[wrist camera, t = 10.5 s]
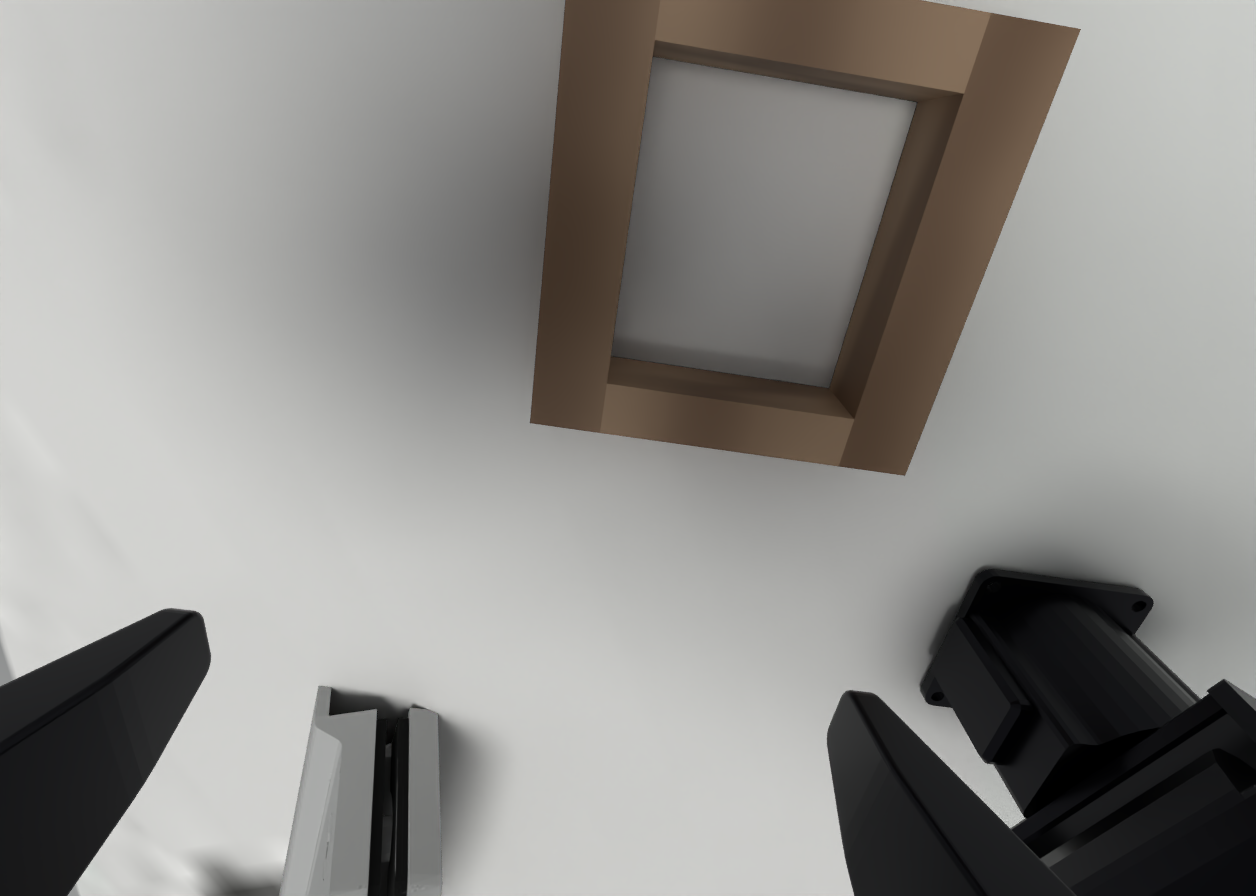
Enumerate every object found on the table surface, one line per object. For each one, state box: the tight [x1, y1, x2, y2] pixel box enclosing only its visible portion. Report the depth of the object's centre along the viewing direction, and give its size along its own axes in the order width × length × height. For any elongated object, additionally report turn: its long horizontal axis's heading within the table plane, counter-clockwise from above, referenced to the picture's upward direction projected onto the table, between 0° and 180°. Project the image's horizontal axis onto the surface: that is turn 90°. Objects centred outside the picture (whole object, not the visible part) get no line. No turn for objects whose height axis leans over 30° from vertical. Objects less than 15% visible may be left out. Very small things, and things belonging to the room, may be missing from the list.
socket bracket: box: [530, 0, 1081, 476], centre depth 16 cm, size 11×11×2 cm
